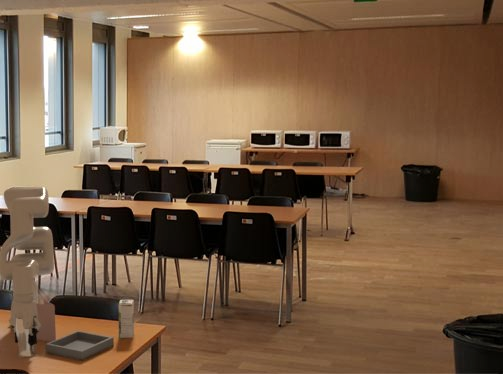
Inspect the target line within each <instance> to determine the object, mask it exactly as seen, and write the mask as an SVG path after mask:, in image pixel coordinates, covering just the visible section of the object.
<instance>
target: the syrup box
mask: <svg viewBox="0 0 503 374" xmlns="http://www.w3.org/2000/svg"><path fill="white" fill-rule="evenodd" d="M134 301H135V300H134V299H120V300H119V303H118V339H129V338H130V339H133V338H134V335H135V306H134V305H135V302H134Z"/></svg>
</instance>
